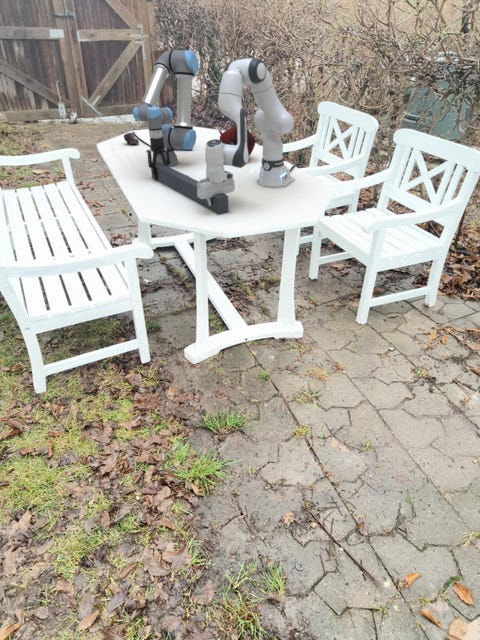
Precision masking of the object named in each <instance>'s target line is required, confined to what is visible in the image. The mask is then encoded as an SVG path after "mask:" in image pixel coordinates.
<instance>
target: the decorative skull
mask: <svg viewBox="0 0 480 640" xmlns="http://www.w3.org/2000/svg"><path fill="white" fill-rule="evenodd" d="M218 133H219V135H220V136H219V140H221V141H222V143H223V144H229V145H237V126H232V127H230V128H228V129H226V130H224V131H222V130H220V129H218ZM247 133H248V152H249V157H250V156H251V155H252V153H253V151H254V149H255V147H256V142H257V141H256V137H255V135H254V134H253V133H251V131H249V130H248V129H247Z"/></svg>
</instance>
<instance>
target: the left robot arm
mask: <svg viewBox="0 0 480 640" xmlns="http://www.w3.org/2000/svg"><path fill="white" fill-rule="evenodd" d="M199 68H200V67H199V59H198V56H197V54H196V53H195V52H194V51H193V50H190V49H189V50H188V49H169V50H167V51H164V52H163V53H162V54H161V55H160V56H159V57H158V58H157V59H156V61H155V63H154V66H153V73H152V75H151V77H150V80H149V83H148V85H147V88H146V90H145V92H144V95H143V98H142V100H141V102H140V104H139V106H135V107H133V110H132V116H133V119H134V120H135V121H139V122H147V125H148V134H149V143H148V142H146V141H144V140H143V139H141V138H140V137H139V136H138V135H137V134H136V133H135V132H134V131H133V130H132V133H134V135H135V138H136V139H138V141H141V143H144V144H145V145H147V146H148V147H150V149H146V150H145V152H146V154H147V165H148V168H150V169H151V168H152V172H153V174H154V178H155V179H154V178H153V179H154V180H155V181H158V177H157V169H156V168H155V166H156V162H160V163H162V164H164V165H166V166H168V167H174V166H177V165H178V164H179V159H178V155H177V153H176V151H175V150H174V148H179V149H191V148H193V149H194V146H195V145H196V141H197V132H196V130H194V126H193V125H192V121H191V120H192V119H191V118H192V90H193V89H192V87H193V84H192V83H193V80H194V78H195V75H196V74H197V73H198V71H199ZM173 73H174V76H175V77H176V79H177V80H176V81H177V82H176V83H177V84H176V121H177V122H176V121H175V122H176V124H175V125H174V124H173V125H172V124H166V123H168V122H170V121H171V120H172V119H173V117H174V115H173V114H174V113H173V111H172V109H171V108H169V107H168V106H165V107H164V106H163V107H158V106H156V103H157V102H158V98H159V96H160V94H161V92H162V89H163V86H164V83H165V81H166V79H167V78H168V77H169V76H170V74H173ZM173 126H174V128H173ZM191 150H192V149H191ZM152 172H151V173H152Z"/></svg>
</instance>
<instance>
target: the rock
mask: <svg viewBox="0 0 480 640" xmlns="http://www.w3.org/2000/svg"><path fill="white" fill-rule="evenodd" d="M134 133H135V132H134ZM134 133H133V132H127V133H125V134H123V139H124V141H125V142H126V143H127V144H128V145H139V144H140V140H139V139H138V138H137V137H136V136H135V135H134Z"/></svg>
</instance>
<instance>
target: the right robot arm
mask: <svg viewBox="0 0 480 640" xmlns="http://www.w3.org/2000/svg"><path fill="white" fill-rule="evenodd" d="M248 85H249V86H250V90H251V92H252V95H253V98H254V101H255V103H256V106H257V108H259V109H258V110H256V112H255V114H254V118H253V119H254V120H253V122H254V125H255V126H256V128H257V130H258V131H259V135H260V138H261V142H262V143H261V144H262V157H261V166H260V169H259V178H258V179H257V182H259V185H261V186H262V187H266V188H278V187H280V188H281V187H282V188H283V187H284V188H285V187H287V186H288V185H290V184H291V183H292V182H293V181H294V179H295V178H294V177H293V176H291V171H292V170H293V169H294V168H295V167H296V166H298V167H299V166H301V164H300V163H295V164H294V165H293V166H291V168H290V169H289V167H287V165H285V162H286V161H287V160H288V159H287V157H284V156H283V153H284V151H283V150H284V143H283V141H282V140H281V138H280V136H279V135H287V134H290V133H291V132H292V131H293V129H294V126H295V118H294V117H293V115H292V114H291V113H289V112H288V111H287V109H286V108H285V107H284V104H282V101H281V100H280V98H279V96H278V94H277V91H276V88H275V85H274V83H273V79H272V76H271V74H270V72H269V70H268V68H267V66H266V64H265V62H264V61H263V59H261V58H257V57H254V58H242V59H236V60H233V59H232V60H230V61H228V62H227V63H226V65H225V67H224V70H223V74H222V77H221V80H220V84H219V89H218V97H217V107H218V109H219V111H220V113H221V114H222V115H224V116H225V117H227V118H229V119H230V120H232V121H233V122H234V123H235V124H236V125H235V126H236V127H237V145H229V144H223V143H222V141H221V140H220V139H217V138H215V139H214V138H213V139H210V140H208V141H207V142H206V144H205V151H204V152H205V155H204V156H205V157H204V159H205V164H206V168H205V175H206V177H205V178H200V179H199V180H197V181H198V182H197V197H198V198H200V199H207V201H208V204H209V206H212V205H213V202H211V201H210V199H211V197H213V195H217V194H221V193H223V194H225V195H227V194H230V193H233V192H235V189H236V184H235V179H234V173H232V172H230V171H228V170H225V166H228V167H235V168H238V169H242V168H244V167H245V166H246V165H247V164H248V163H249V160H250V156H249V152H248V133H247V130H248V115H247V111H246V110H245V108H244V107H243V101H242V100H243V88H244V86H248ZM255 171H256V169H255V168H253V169H251V170H250V171H248V172H249V174H251V173H253V172H255Z"/></svg>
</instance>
